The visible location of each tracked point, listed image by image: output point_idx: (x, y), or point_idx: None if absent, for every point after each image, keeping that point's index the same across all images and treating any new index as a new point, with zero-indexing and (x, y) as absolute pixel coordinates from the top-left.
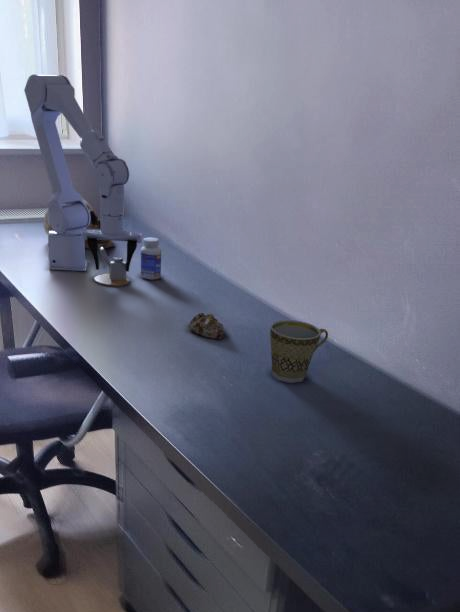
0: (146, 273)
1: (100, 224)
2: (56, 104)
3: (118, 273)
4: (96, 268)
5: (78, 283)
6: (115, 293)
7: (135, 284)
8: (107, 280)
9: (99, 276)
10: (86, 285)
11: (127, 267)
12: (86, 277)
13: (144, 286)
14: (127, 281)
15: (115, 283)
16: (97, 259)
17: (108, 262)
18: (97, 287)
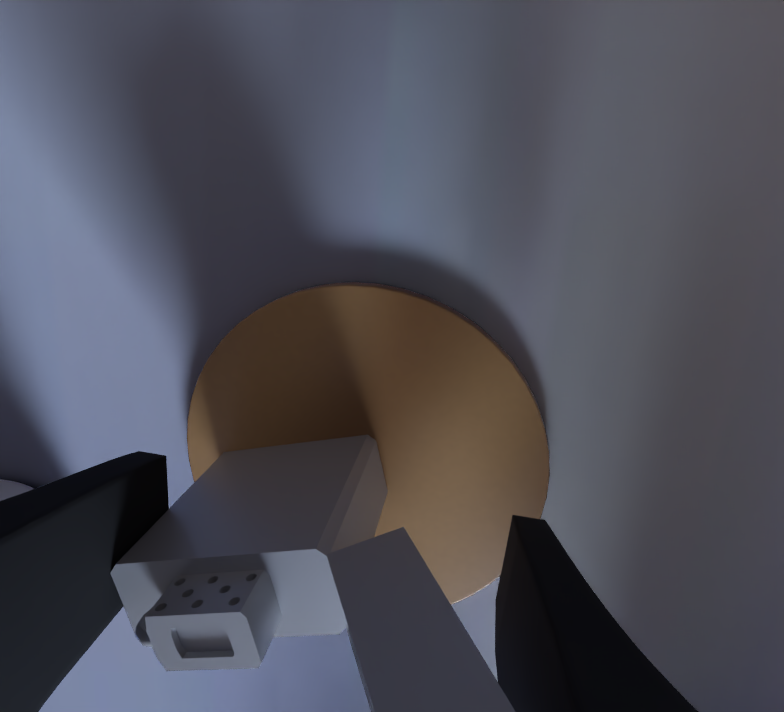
0: None
1: None
2: None
3: (271, 476)
4: (544, 527)
5: (763, 369)
6: (352, 6)
7: (138, 353)
8: (412, 424)
9: (485, 546)
10: (677, 300)
11: (113, 466)
12: (621, 557)
13: (50, 295)
14: (206, 395)
15: (332, 326)
16: (548, 602)
17: (360, 555)
18: (551, 233)
